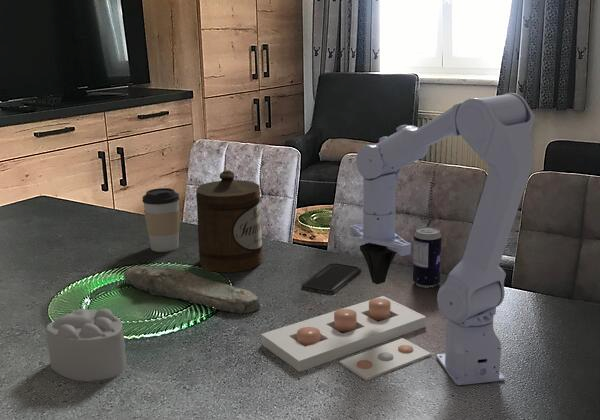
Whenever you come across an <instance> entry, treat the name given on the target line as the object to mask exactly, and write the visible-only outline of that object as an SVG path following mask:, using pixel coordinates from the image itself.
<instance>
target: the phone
mask: <svg viewBox="0 0 600 420" xmlns="http://www.w3.org/2000/svg"><path fill="white" fill-rule="evenodd" d="M361 273H362V268H361V267H360V266H354V265H348V264H342V263H338V262H337V263H336V262H335V263H334V262H333V263H329V264H327V265H326V266H325V267H323V268H322V269H321V270H319V271H317V272H316V273H315V274H313V275H312V276H311V277H309V278H308V279H307V280H305V281H304V282H302V283H301V289H303V290H306V291H311V292H318V293H322V294H323V293H324V294H327V295H333V294H336V293H337V292H339V290H341V289H343V287H344V286H346V285H347V284H348V283H350V282H351V281H352V280H353V279H355V278H356V277H357V276H358V275H359V274H361Z"/></svg>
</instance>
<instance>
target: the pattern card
mask: <svg viewBox="0 0 600 420" xmlns="http://www.w3.org/2000/svg"><path fill="white" fill-rule="evenodd" d="M431 355H432V353H431V352H429V351H427V350H425V349H424V348H422V347H420V346H418V345H416V344H414V343H413V342H411V341H409V340H407V339H405V338H403V337H402V338H399V339H397V340H394V341H391V342H388V343H385V344H382V345H380V346H376V347H374V348H372V349H368V350H365V351H363V352H361V353H360V352H359V353H358V354H355V355H352V356H349V357H346V358H343V359H341V360H339V362H338V363H339V364H340V365H341V366H343V367H345V368H346V369H348V370H349V371H350V372H352V373H354V374H355V375H357V376H358V377H360V378H362V379H363V380H364V381H366V382H367V381H369V380H372V379H375V378H377V377H379V376H383V375H385V374H388V373H390V372H393V371H395V370H397V369H400V368H403V367H405V366H407V365H410V364H412V363H416V362H418V361H421V360H423V359H425V358H428V357H431Z"/></svg>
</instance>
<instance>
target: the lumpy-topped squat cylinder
mask: <svg viewBox="0 0 600 420" xmlns="http://www.w3.org/2000/svg"><path fill="white" fill-rule="evenodd" d="M45 328H46V329H45V331H46V339H47V347H48V353H49V359H50V368H51V370H53V371H54V372H55V373H57V374H59V375H61V376H62V377H65V378H68V379H71V380H74V381H82V382H83V381H85V382H88V381H90V382H94V381H101V380H107V379H112V378H114V377H117V376H119V375H120V374H122V373H123V372H124V371H125V370H126V367H127V365H128V364H127V356H126V355H127V354H126V345H125V335H124V334H125V333H124V326H123V323H122V321H121V319H120V318H119V317H117V316H115V315H114V313H113V312H112V311H111V310H110V309H108V308H105V307H104V308H100V309H93V308H92V309H86V308H78V309H76V310H75V311H72V312H71V313H70V312H69V313H68V314H65V315H62V316H59V317H58V318H56V319H55V320H53V321H51V322H50V323H48V324H47V326H46V327H45Z"/></svg>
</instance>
